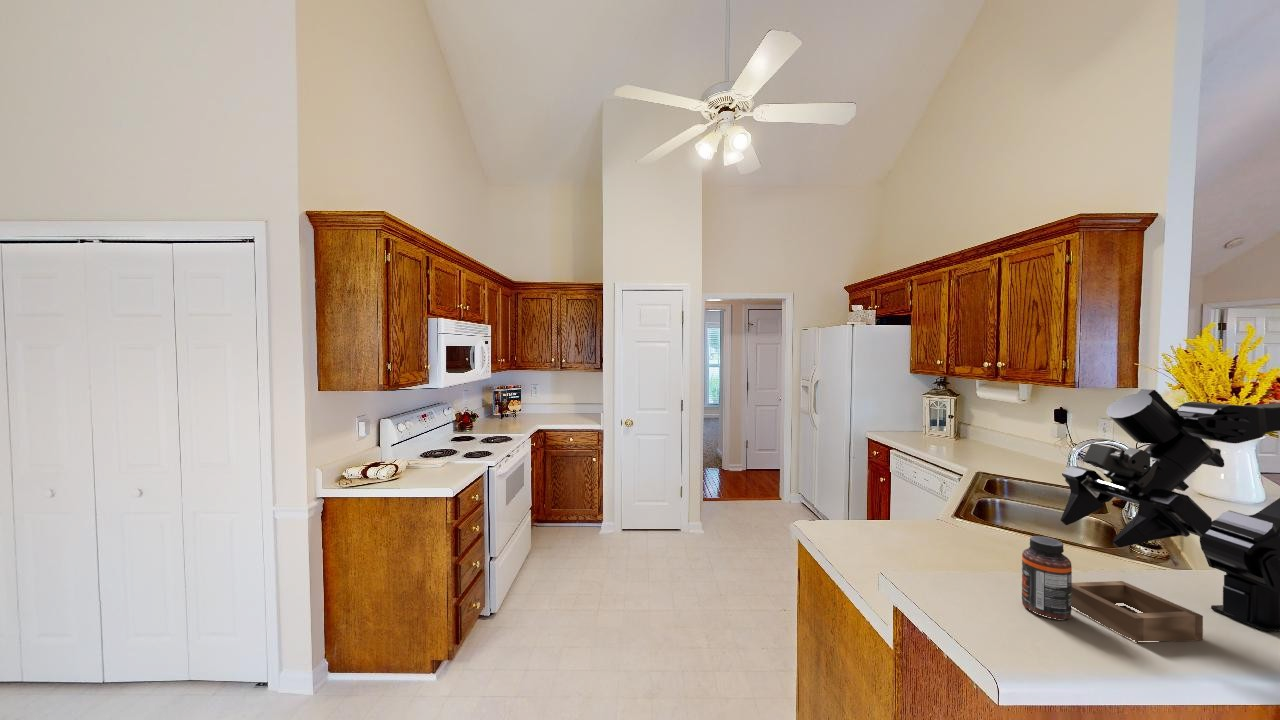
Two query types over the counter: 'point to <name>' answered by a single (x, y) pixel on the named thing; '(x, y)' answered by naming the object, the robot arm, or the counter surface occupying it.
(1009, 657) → the counter surface
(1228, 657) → the counter surface
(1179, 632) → the socket collar
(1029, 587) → the supplement bottle
